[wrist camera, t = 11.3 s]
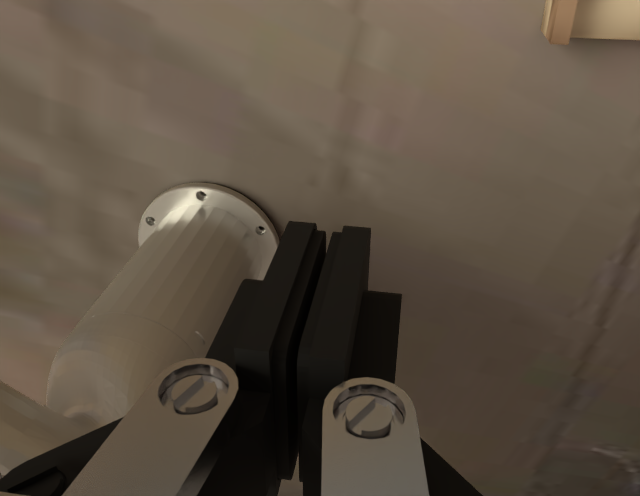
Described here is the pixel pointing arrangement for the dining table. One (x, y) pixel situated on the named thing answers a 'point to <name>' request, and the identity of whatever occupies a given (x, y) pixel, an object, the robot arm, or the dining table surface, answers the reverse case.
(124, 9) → the dining table surface
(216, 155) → the dining table surface
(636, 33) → the fader track
